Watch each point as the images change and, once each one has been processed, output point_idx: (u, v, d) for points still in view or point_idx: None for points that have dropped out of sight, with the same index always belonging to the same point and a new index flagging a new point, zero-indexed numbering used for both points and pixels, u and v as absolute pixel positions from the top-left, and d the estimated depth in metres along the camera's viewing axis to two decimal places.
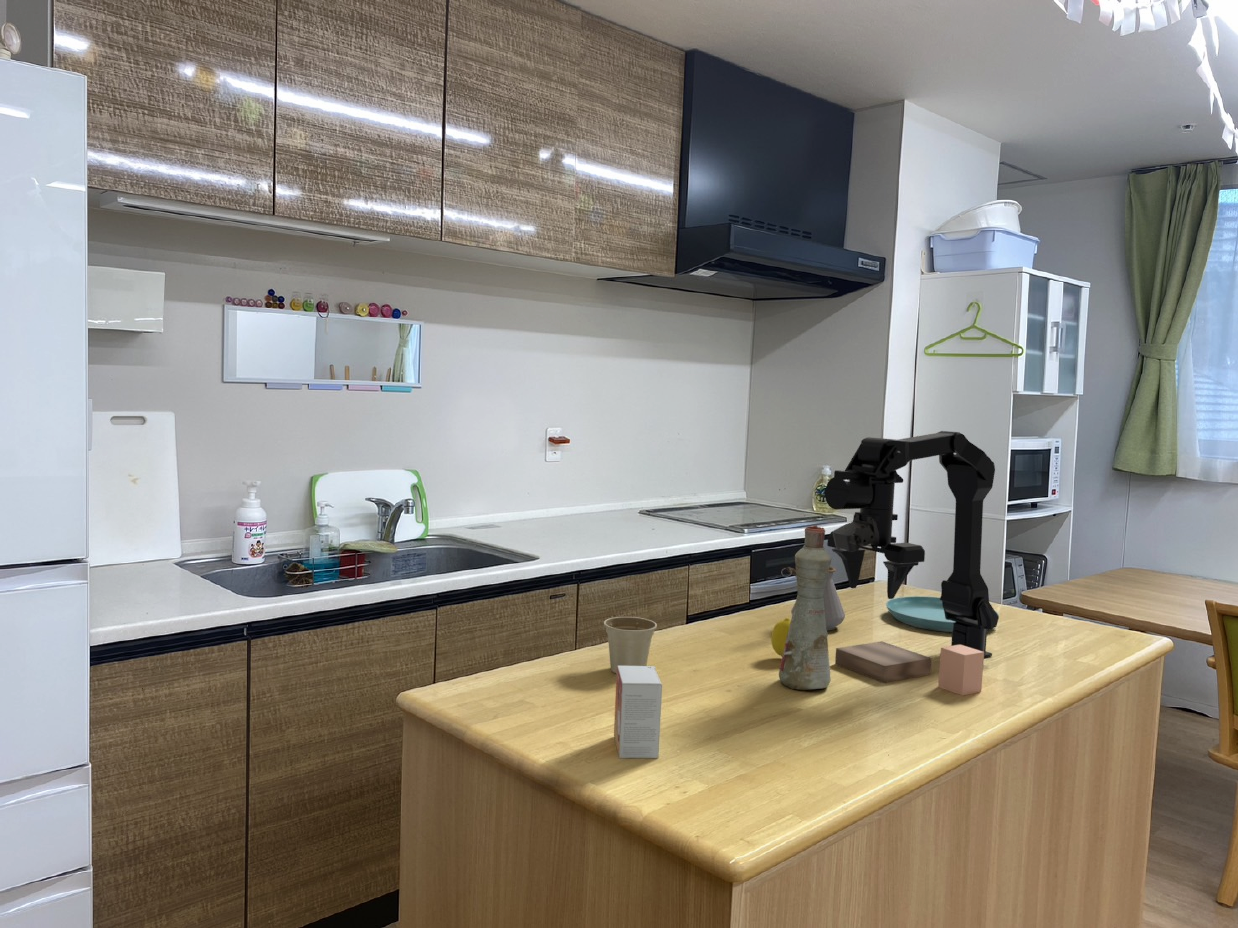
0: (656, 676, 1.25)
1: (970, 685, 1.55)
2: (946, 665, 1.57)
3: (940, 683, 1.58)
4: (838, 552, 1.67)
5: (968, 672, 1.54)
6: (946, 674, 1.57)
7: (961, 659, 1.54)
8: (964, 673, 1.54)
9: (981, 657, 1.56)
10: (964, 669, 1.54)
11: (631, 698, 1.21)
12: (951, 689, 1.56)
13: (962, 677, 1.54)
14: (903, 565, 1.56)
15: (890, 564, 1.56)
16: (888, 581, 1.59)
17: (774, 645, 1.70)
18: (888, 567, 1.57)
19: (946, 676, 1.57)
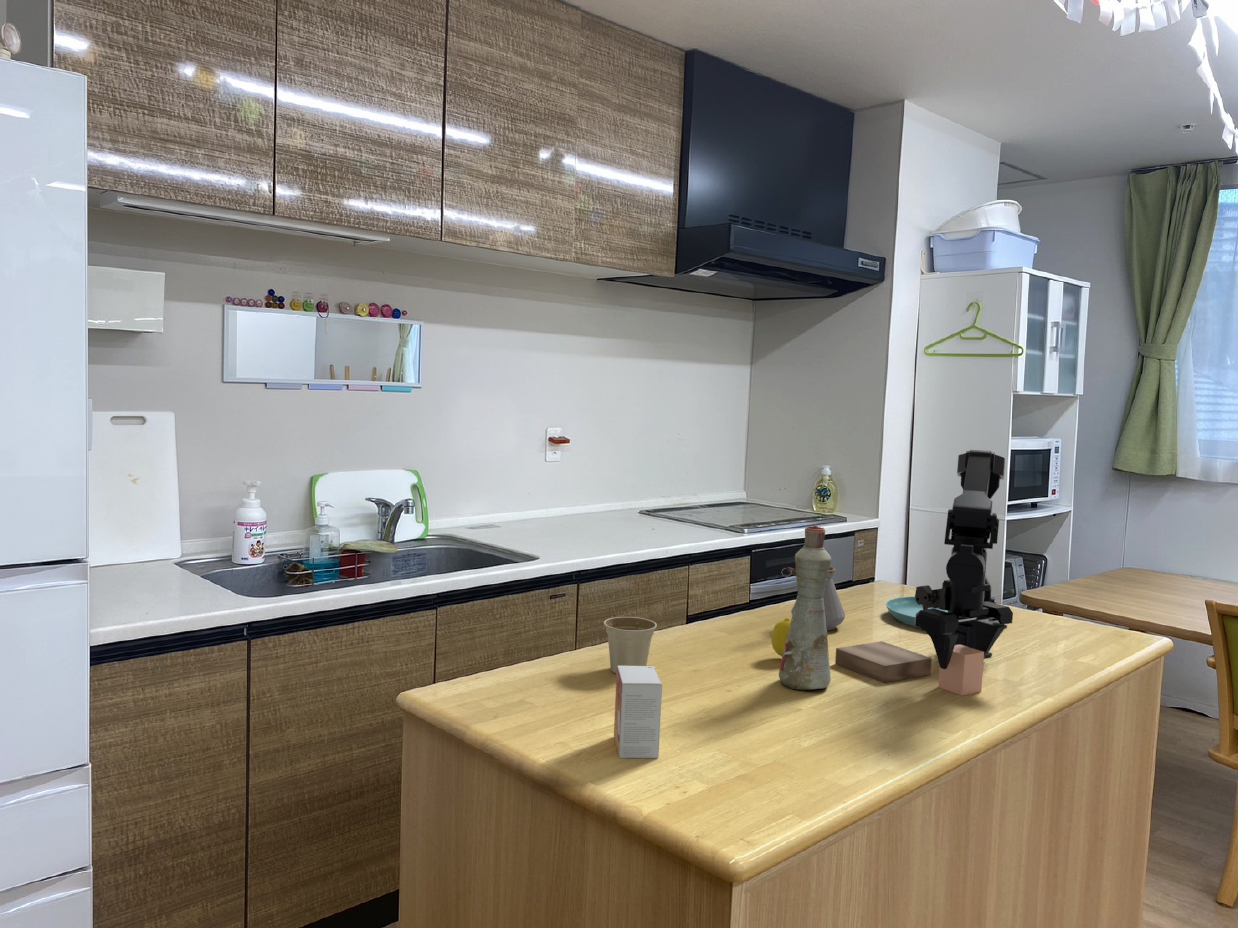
0: (656, 676, 1.25)
1: (970, 685, 1.55)
2: None
3: (940, 683, 1.58)
4: None
5: (968, 672, 1.54)
6: (946, 674, 1.57)
7: (961, 659, 1.54)
8: (963, 673, 1.54)
9: (981, 657, 1.56)
10: (963, 669, 1.54)
11: (631, 698, 1.21)
12: (951, 689, 1.56)
13: (962, 677, 1.54)
14: (927, 631, 1.53)
15: None
16: None
17: (774, 645, 1.70)
18: None
19: (946, 676, 1.57)
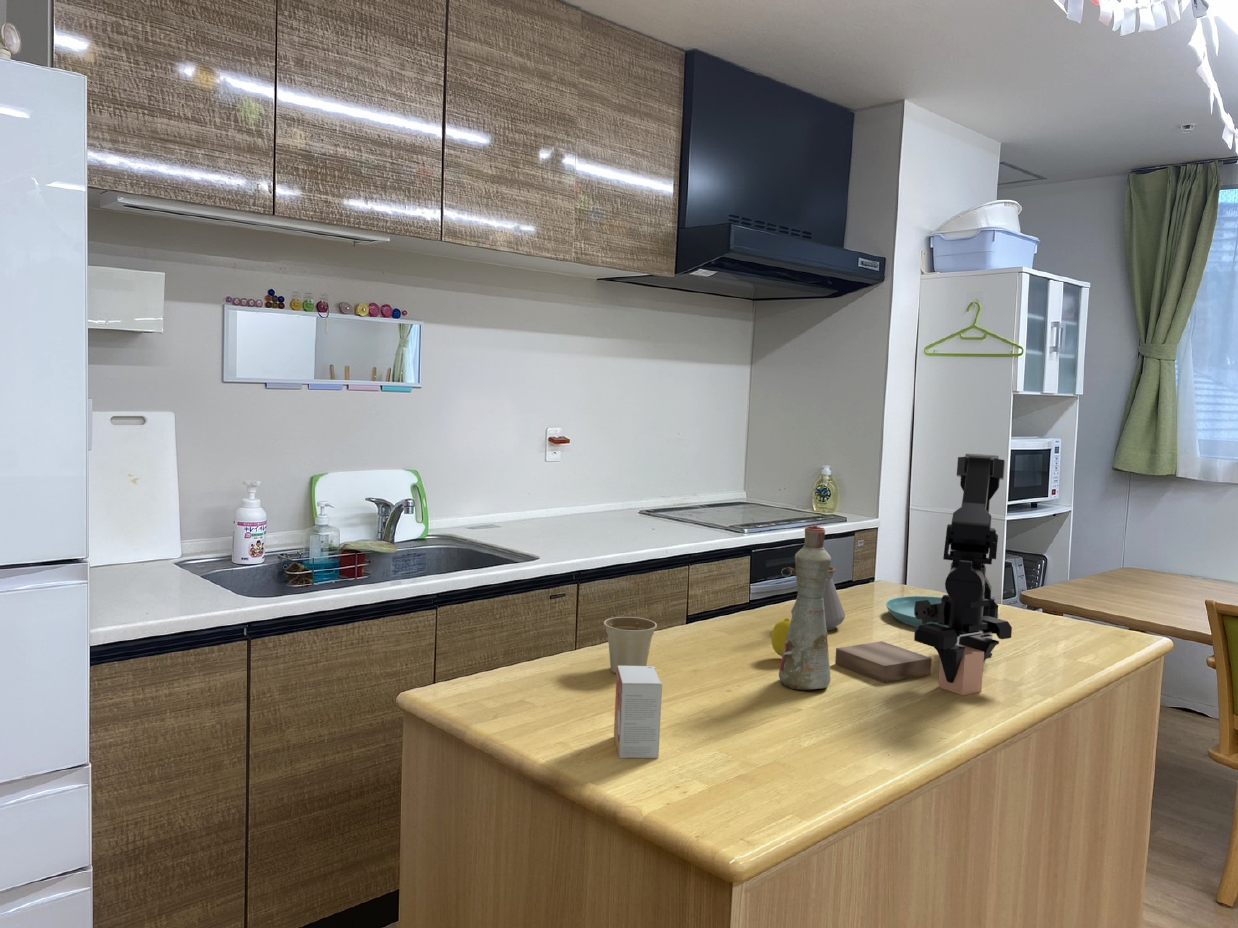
0: (656, 676, 1.25)
1: (970, 685, 1.55)
2: None
3: (940, 683, 1.58)
4: None
5: (968, 672, 1.54)
6: None
7: (961, 659, 1.54)
8: (964, 672, 1.54)
9: (981, 657, 1.56)
10: (964, 668, 1.54)
11: (631, 698, 1.21)
12: (951, 689, 1.56)
13: (962, 677, 1.54)
14: None
15: None
16: None
17: (774, 645, 1.70)
18: None
19: None
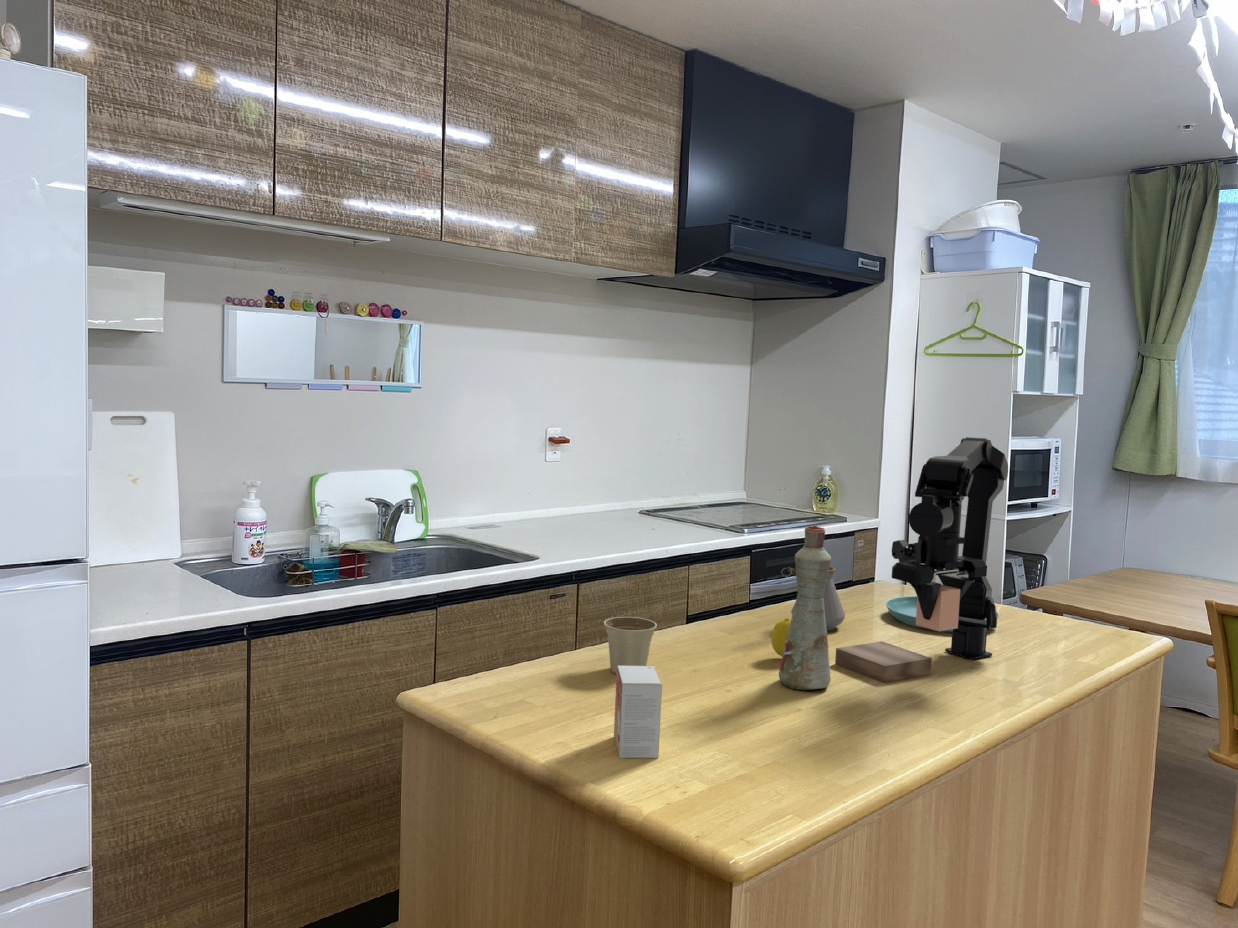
0: (656, 676, 1.25)
1: (947, 622, 1.57)
2: None
3: (917, 621, 1.60)
4: None
5: (945, 608, 1.57)
6: None
7: (938, 596, 1.56)
8: (940, 609, 1.56)
9: (957, 594, 1.58)
10: (940, 605, 1.56)
11: (631, 698, 1.21)
12: (928, 626, 1.58)
13: (939, 613, 1.56)
14: (911, 582, 1.57)
15: None
16: None
17: (774, 645, 1.70)
18: None
19: None
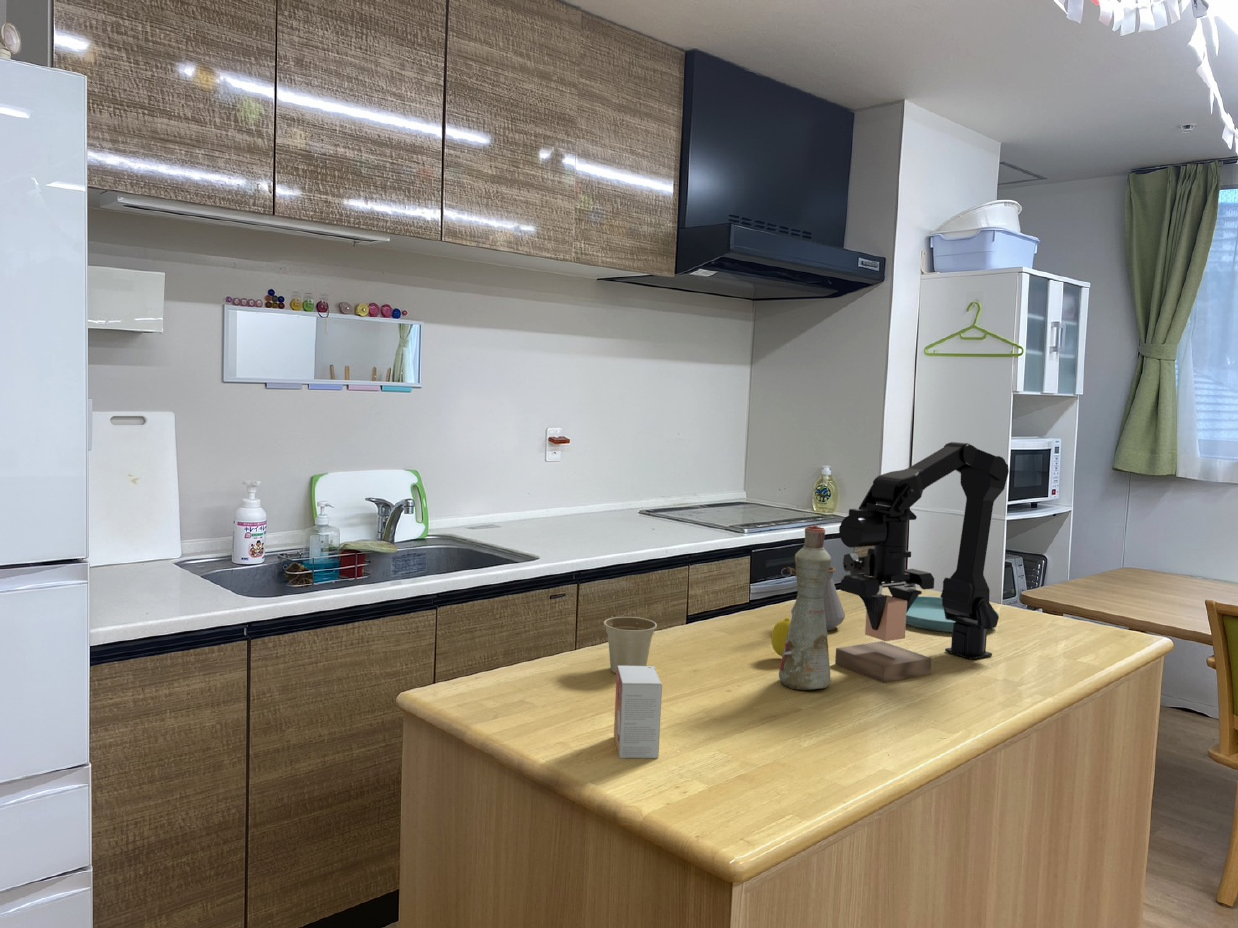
0: (656, 676, 1.25)
1: (893, 632, 1.64)
2: None
3: (866, 631, 1.67)
4: None
5: (891, 619, 1.64)
6: None
7: (885, 607, 1.63)
8: (887, 620, 1.63)
9: (904, 606, 1.65)
10: (887, 616, 1.63)
11: (631, 698, 1.21)
12: (876, 636, 1.65)
13: (886, 624, 1.63)
14: None
15: None
16: None
17: (774, 645, 1.70)
18: None
19: None
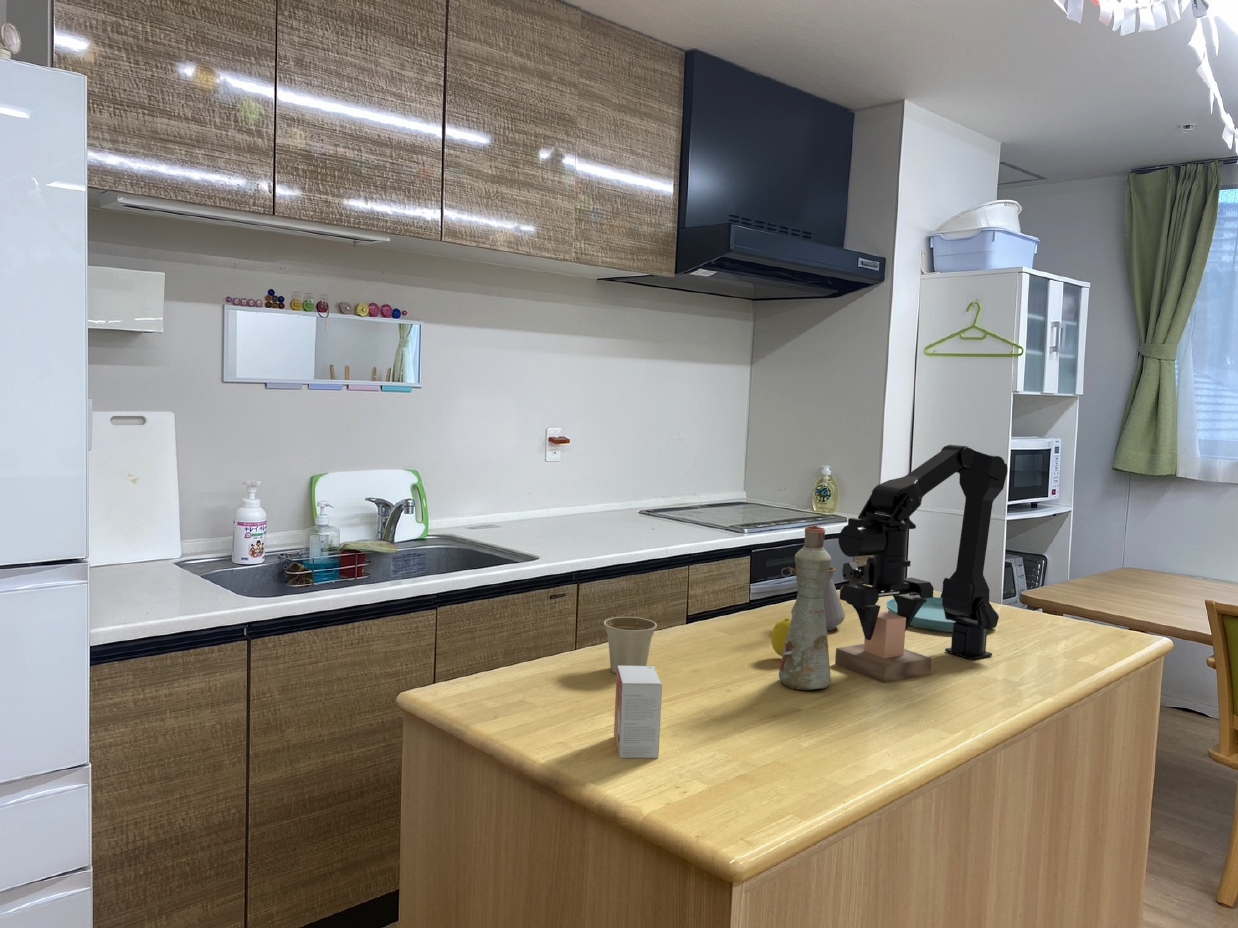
0: (656, 676, 1.25)
1: (892, 649, 1.65)
2: None
3: (865, 647, 1.68)
4: None
5: (890, 636, 1.64)
6: None
7: (883, 624, 1.64)
8: (886, 637, 1.63)
9: (903, 623, 1.65)
10: (886, 633, 1.63)
11: (631, 698, 1.21)
12: (875, 652, 1.65)
13: (884, 641, 1.64)
14: (852, 604, 1.63)
15: None
16: None
17: (774, 645, 1.70)
18: None
19: (870, 641, 1.66)
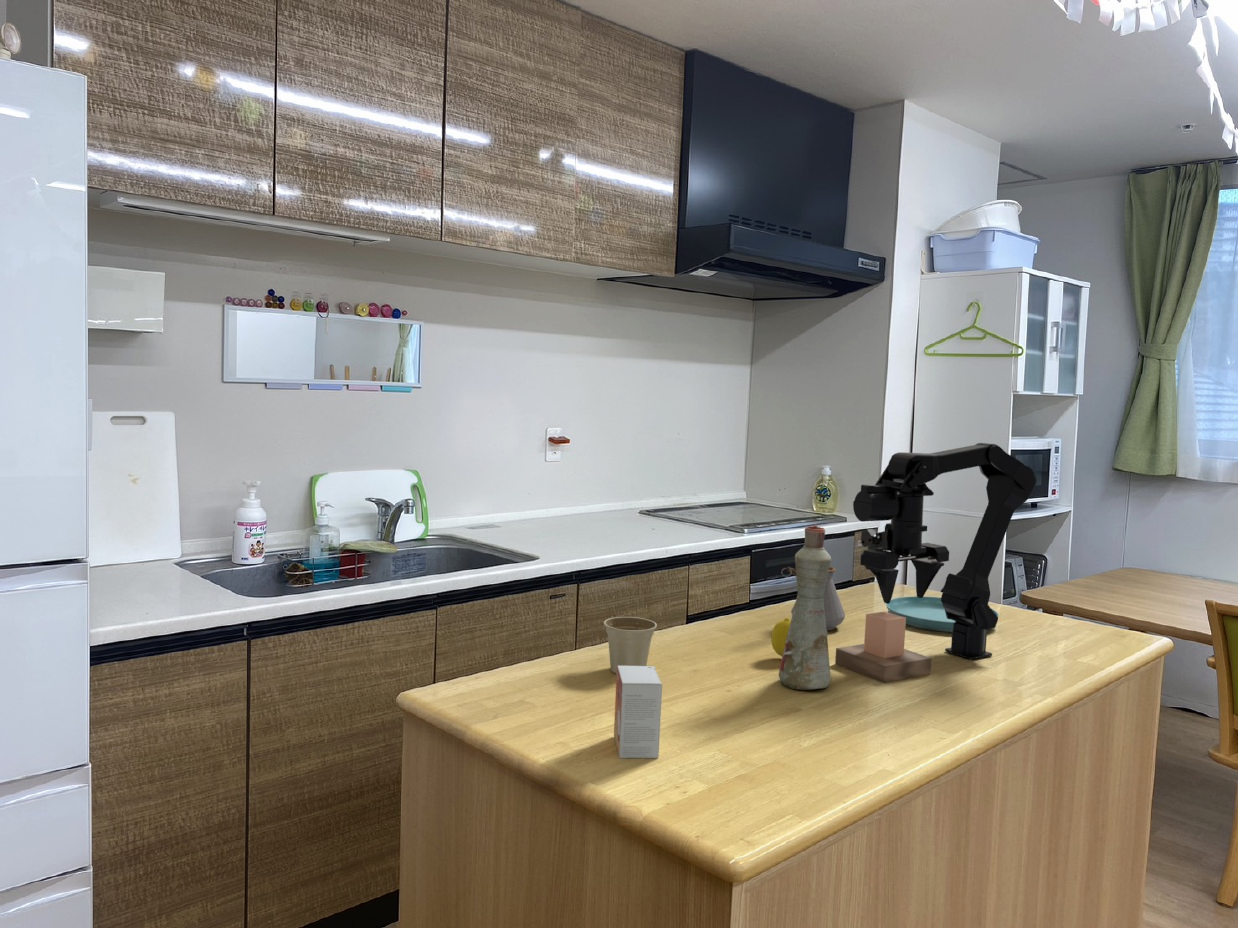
0: (656, 676, 1.25)
1: (892, 649, 1.65)
2: (871, 630, 1.66)
3: (865, 647, 1.68)
4: None
5: (890, 636, 1.64)
6: (870, 639, 1.67)
7: (883, 624, 1.64)
8: (886, 637, 1.63)
9: (903, 623, 1.65)
10: (886, 633, 1.63)
11: (631, 698, 1.21)
12: (875, 652, 1.65)
13: (884, 641, 1.64)
14: (871, 569, 1.69)
15: None
16: None
17: (774, 645, 1.70)
18: None
19: (870, 641, 1.66)
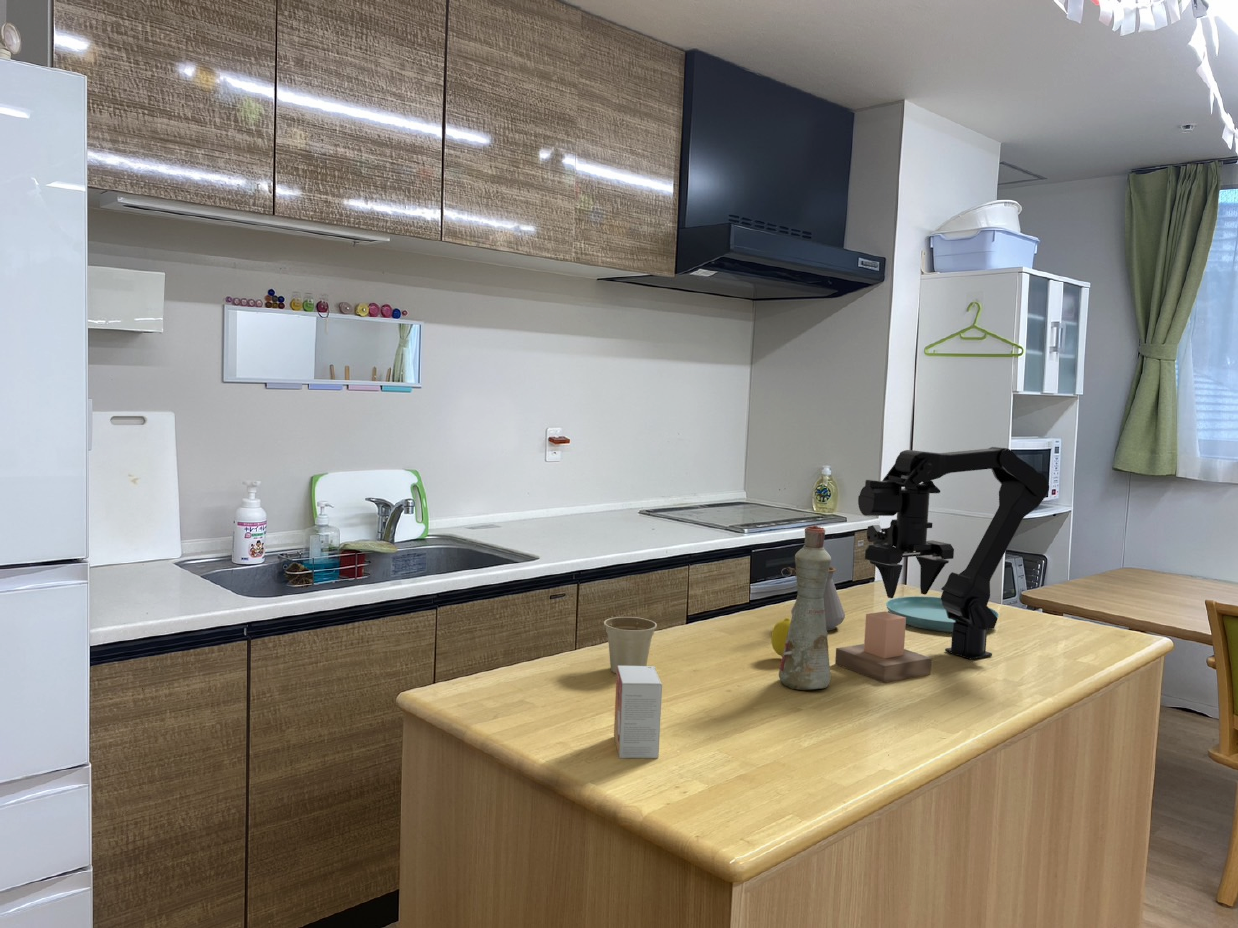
0: (656, 676, 1.25)
1: (892, 649, 1.65)
2: (871, 630, 1.66)
3: (865, 647, 1.68)
4: None
5: (890, 636, 1.64)
6: (870, 639, 1.67)
7: (883, 624, 1.64)
8: (886, 637, 1.63)
9: (903, 623, 1.65)
10: (886, 633, 1.63)
11: (631, 698, 1.21)
12: (875, 652, 1.65)
13: (884, 641, 1.64)
14: (875, 564, 1.71)
15: None
16: None
17: (774, 645, 1.70)
18: None
19: (870, 641, 1.66)
